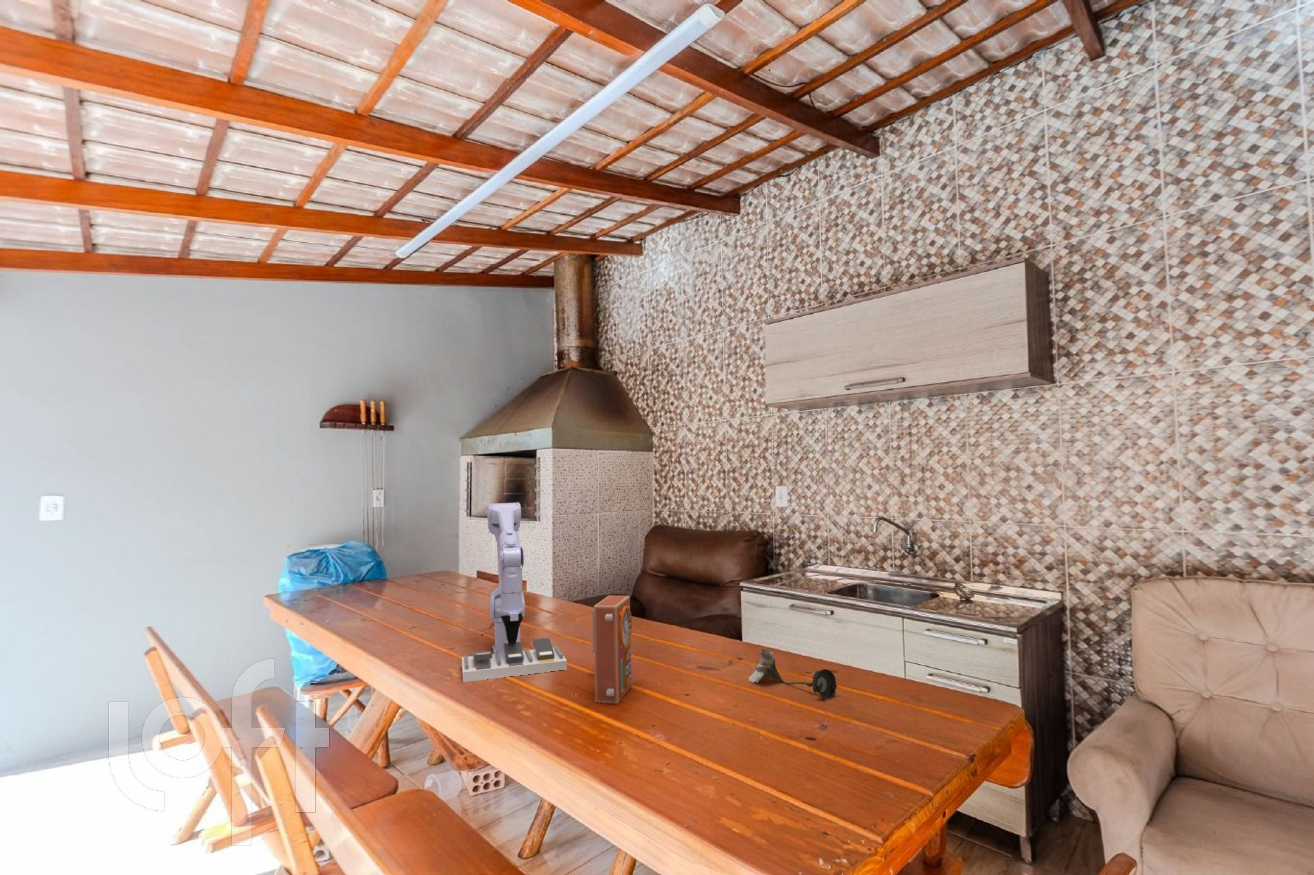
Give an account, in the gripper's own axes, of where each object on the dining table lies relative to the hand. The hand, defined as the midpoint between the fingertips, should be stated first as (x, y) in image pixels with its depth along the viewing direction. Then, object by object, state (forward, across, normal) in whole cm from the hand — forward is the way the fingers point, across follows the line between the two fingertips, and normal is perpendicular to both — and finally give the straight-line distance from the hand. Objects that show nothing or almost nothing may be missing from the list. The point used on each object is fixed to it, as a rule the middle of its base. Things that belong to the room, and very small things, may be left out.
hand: (512, 642), depth 173 cm
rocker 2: (+2, +4, +8) cm, 9 cm away
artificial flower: (+6, +44, +59) cm, 74 cm away
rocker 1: (+2, +4, -8) cm, 9 cm away
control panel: (+6, +33, +20) cm, 39 cm away
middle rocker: (+2, +4, 0) cm, 4 cm away
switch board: (+6, +4, 0) cm, 7 cm away
